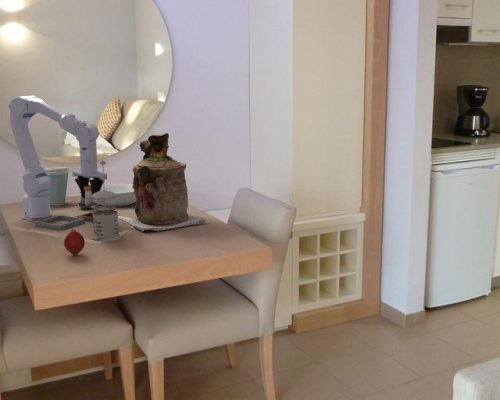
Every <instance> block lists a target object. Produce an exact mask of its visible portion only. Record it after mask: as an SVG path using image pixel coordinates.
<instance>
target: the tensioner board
mask: <svg viewBox="0 0 500 400" xmlns="http://www.w3.org/2000/svg"><path fill="white" fill-rule="evenodd" d="M94 212H95V210H94V211H90V212H86V213H83V214H79V215H75V216H74V217H78V218H85V223H87V222H88V223H93V213H94ZM101 215H103V212H101ZM118 216H120V214H118ZM94 221H95V220H94Z"/></svg>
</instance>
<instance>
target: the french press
mask: <svg viewBox="0 0 500 400" xmlns="http://www.w3.org/2000/svg"><path fill="white" fill-rule="evenodd" d="M106 164H107V162H106V160H100V161H99V165H100V166H104V165H106ZM104 171H105V170H104V168H102V173H103V185H105V181H104V173H105V172H104ZM103 185H102V186H103ZM116 197H117V194H115V193H113V192H111V191H106V190H105V189H104V190H103V191H99V192H96V193H94V194H93V195H92V198H94V199H99V202H102V205H98V201H97V205H96V206H94V207H93V210H94V213H93V222H92V223H93V236H94V237H96V239H95V238H91V240H93V241H95V242H112V240H113V241H117V240H119V239H122V237H123V235H122V234H121V233H120V231H119V219H118V215H119V214H118V211H117V207H115V206H108V205H106V206H103V202H104V205H105V199H113V198H116ZM100 200H102V201H100ZM103 200H104V201H103ZM101 212H103V215H101ZM94 220H95V221H94Z"/></svg>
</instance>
